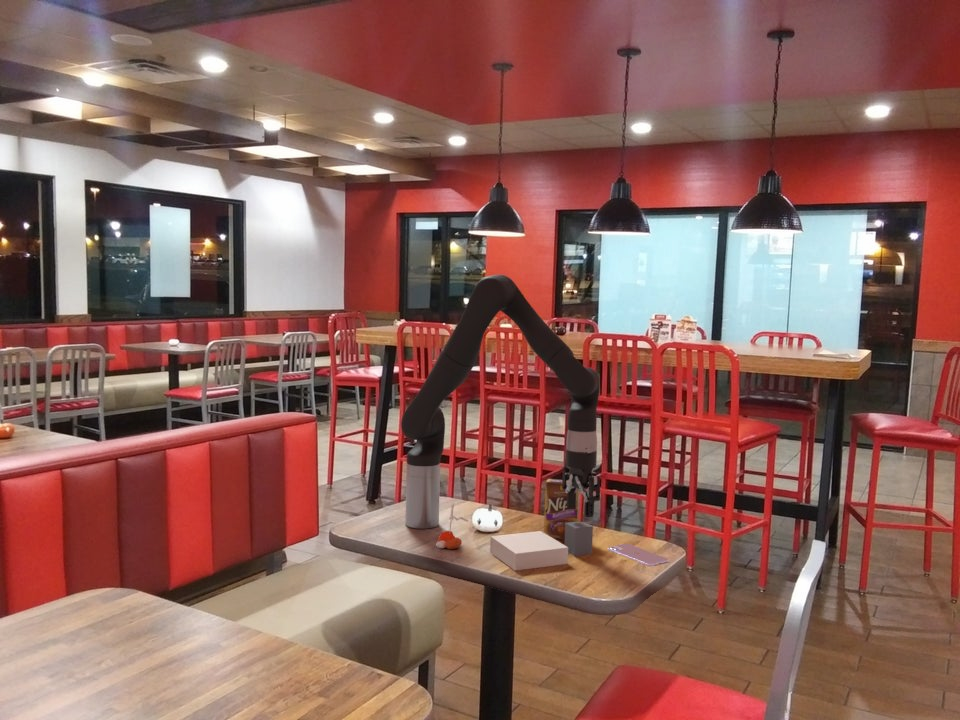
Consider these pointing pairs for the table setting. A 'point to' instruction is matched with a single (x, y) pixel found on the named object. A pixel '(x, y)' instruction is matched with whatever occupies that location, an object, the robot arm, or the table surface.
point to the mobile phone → (638, 554)
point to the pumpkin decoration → (449, 536)
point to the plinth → (528, 550)
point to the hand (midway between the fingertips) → (579, 512)
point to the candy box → (558, 509)
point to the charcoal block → (578, 538)
